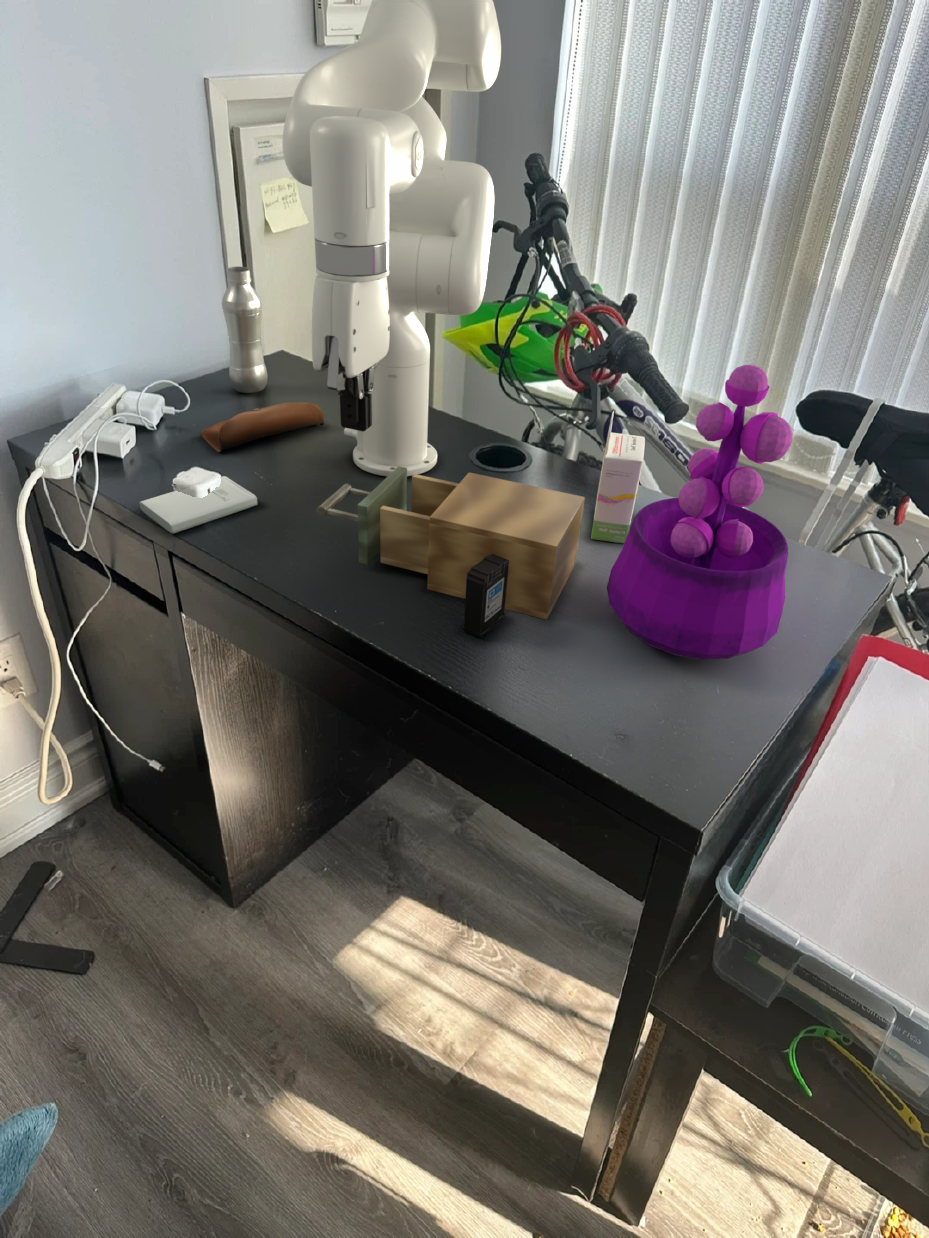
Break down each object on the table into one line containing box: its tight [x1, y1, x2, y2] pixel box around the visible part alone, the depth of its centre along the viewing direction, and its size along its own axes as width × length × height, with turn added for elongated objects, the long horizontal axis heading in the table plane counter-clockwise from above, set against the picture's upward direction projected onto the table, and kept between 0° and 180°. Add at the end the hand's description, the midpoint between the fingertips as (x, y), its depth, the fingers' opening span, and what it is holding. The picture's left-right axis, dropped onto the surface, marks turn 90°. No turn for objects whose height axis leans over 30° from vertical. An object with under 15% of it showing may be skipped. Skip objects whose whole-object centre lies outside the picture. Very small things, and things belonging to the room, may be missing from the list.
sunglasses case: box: [200, 401, 325, 453], centre depth 130 cm, size 18×7×7 cm
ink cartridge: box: [463, 554, 509, 639], centre depth 90 cm, size 5×2×8 cm, turn 146°
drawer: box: [316, 466, 459, 575], centre depth 102 cm, size 20×11×8 cm, turn 70°
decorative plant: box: [606, 364, 794, 661], centre depth 86 cm, size 19×18×30 cm
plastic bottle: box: [221, 265, 269, 394], centre depth 140 cm, size 6×7×20 cm
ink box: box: [590, 410, 646, 544], centre depth 108 cm, size 9×5×15 cm, turn 168°
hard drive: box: [139, 475, 258, 535], centre depth 110 cm, size 2×8×12 cm
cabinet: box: [426, 472, 586, 620], centre depth 98 cm, size 15×13×10 cm
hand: (356, 426), depth 96 cm, fingers closed
